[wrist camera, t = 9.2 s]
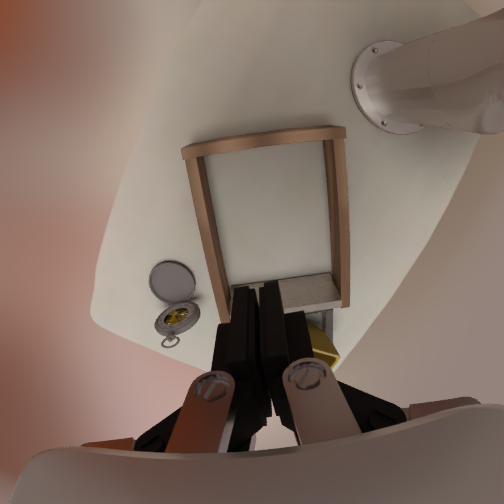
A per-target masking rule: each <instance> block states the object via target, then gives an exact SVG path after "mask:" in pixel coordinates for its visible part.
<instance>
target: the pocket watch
mask: <svg viewBox="0 0 504 504" xmlns="http://www.w3.org/2000/svg"><path fill="white" fill-rule="evenodd" d="M149 286H150V289H151V291H152V292H153V294H154V295H155V296H156V297H157V298H158V299H160V300H161V301H163V302H165V303H168V304H174V305H173V306H171V307H169V308H167V309H166V310H164V311H163V312H162V313H161V314H160V315H159V316H158V318H157V319H156V321H155V329H156V330H157V332H158V333H159V334H161V335H162V336H167V337H166V339H164V340H163V341H162V343H161V345H162V347H164V348H172V347H174V346H176V345H177V344H178V343H179V341H180V339H179V337H176V336H175V335H178V334H181V333H183V332H185V331H187V330H188V329H190V328H191V327H192V326H194V325H195V324H196V322H197V321H198V319H199V317H200V309H199V307H198V305H197V304H196V303H194V302H188V301H187V300H189V299H190V298H191V296H192V295H193V293H194V290H195V281H194V278H193V276H192V274H191V272H190V271H189V270H188V269H187V268H186V267H184V266H182V265H181V264H178V263H175V262H164V263H161V264H159V265H157V266H156V267H155V268H154V269H153V270H152V271H151V273H150V276H149ZM185 313H188V314H185ZM180 314H184V315H180ZM186 315H187V316H186ZM170 322H171V323H170ZM168 323H169V325H168ZM175 338H176V339H177V340H178V341H177V343H176V344H174V345H172V346H164V345H163V343H164V342H165V341H166V340H168V341H169V342H172V340H174V339H175Z"/></svg>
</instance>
